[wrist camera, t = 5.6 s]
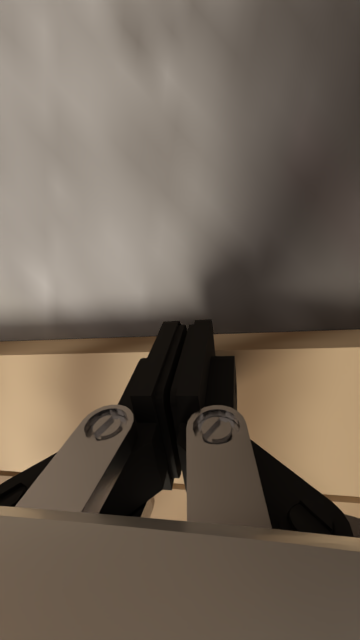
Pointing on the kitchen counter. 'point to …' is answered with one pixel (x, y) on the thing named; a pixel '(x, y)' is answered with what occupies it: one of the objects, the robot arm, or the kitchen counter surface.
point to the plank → (252, 397)
